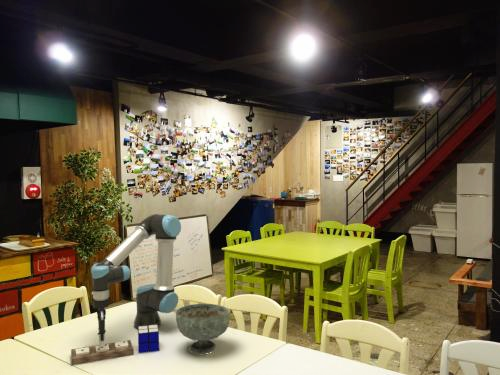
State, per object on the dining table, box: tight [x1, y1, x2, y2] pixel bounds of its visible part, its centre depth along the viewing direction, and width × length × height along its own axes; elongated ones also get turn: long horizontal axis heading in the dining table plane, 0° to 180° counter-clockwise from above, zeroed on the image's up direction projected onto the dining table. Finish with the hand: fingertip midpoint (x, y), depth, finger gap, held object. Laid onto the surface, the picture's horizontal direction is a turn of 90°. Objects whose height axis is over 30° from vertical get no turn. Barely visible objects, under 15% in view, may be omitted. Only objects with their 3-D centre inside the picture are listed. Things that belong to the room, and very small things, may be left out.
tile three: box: [94, 343, 109, 353], centre depth 208 cm, size 6×6×3 cm
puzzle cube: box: [137, 325, 160, 354], centre depth 216 cm, size 10×10×10 cm
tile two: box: [115, 340, 129, 350], centre depth 212 cm, size 6×6×3 cm
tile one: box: [75, 346, 89, 356], centre depth 205 cm, size 6×6×3 cm
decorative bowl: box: [175, 303, 231, 355], centre depth 214 cm, size 26×26×20 cm
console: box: [70, 339, 135, 366], centre depth 208 cm, size 28×12×3 cm, turn 113°
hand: (102, 346), depth 208 cm, fingers closed
